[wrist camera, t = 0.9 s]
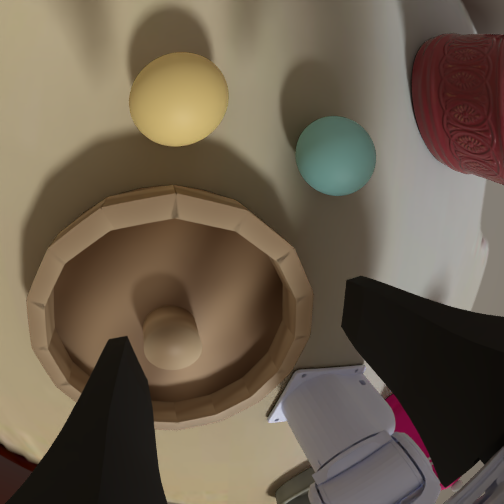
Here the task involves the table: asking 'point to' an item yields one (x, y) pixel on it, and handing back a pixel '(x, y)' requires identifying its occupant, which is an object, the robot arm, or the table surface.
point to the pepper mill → (413, 434)
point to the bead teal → (335, 155)
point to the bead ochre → (178, 99)
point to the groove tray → (173, 301)
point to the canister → (462, 102)
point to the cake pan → (296, 489)
